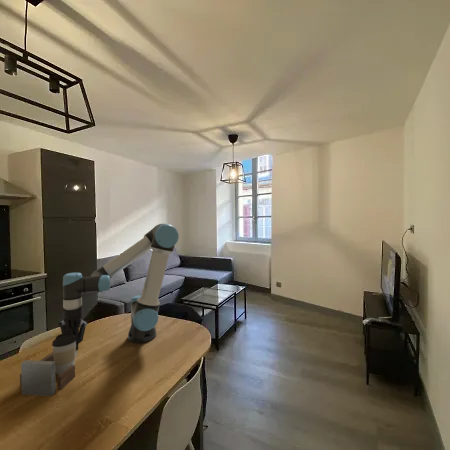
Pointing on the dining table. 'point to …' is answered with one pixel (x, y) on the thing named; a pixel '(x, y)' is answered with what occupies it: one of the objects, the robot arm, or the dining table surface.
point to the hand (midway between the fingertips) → (73, 357)
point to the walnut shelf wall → (63, 377)
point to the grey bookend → (38, 378)
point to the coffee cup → (64, 351)
